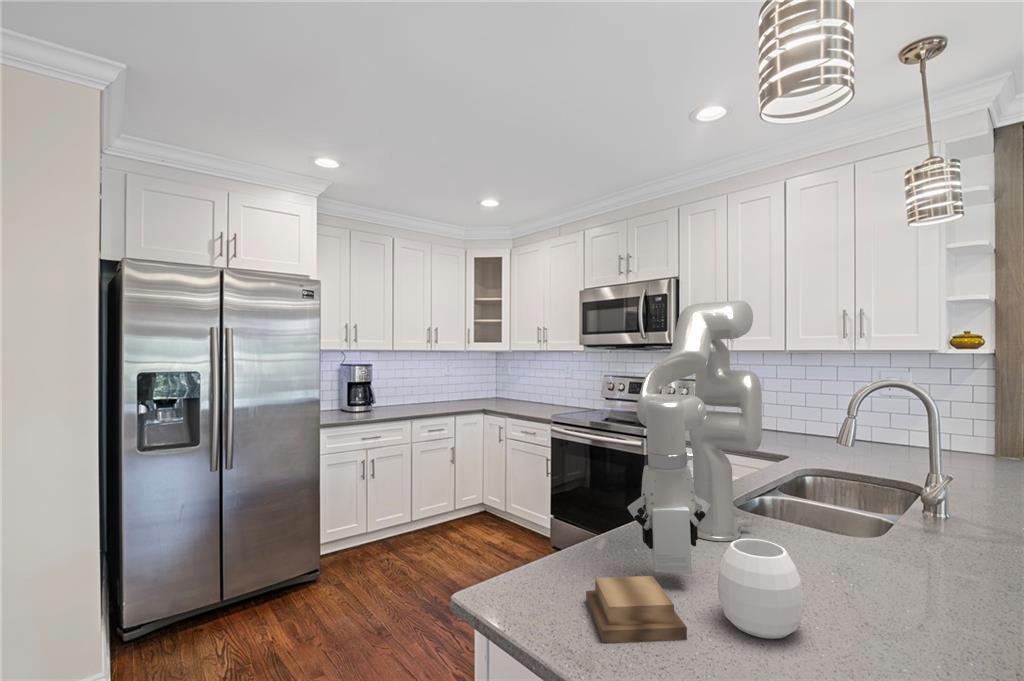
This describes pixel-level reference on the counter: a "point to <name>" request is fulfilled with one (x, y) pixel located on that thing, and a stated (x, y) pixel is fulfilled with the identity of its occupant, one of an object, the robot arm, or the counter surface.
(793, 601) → the white vase
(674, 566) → the supplement box
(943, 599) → the counter surface
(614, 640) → the plinth
